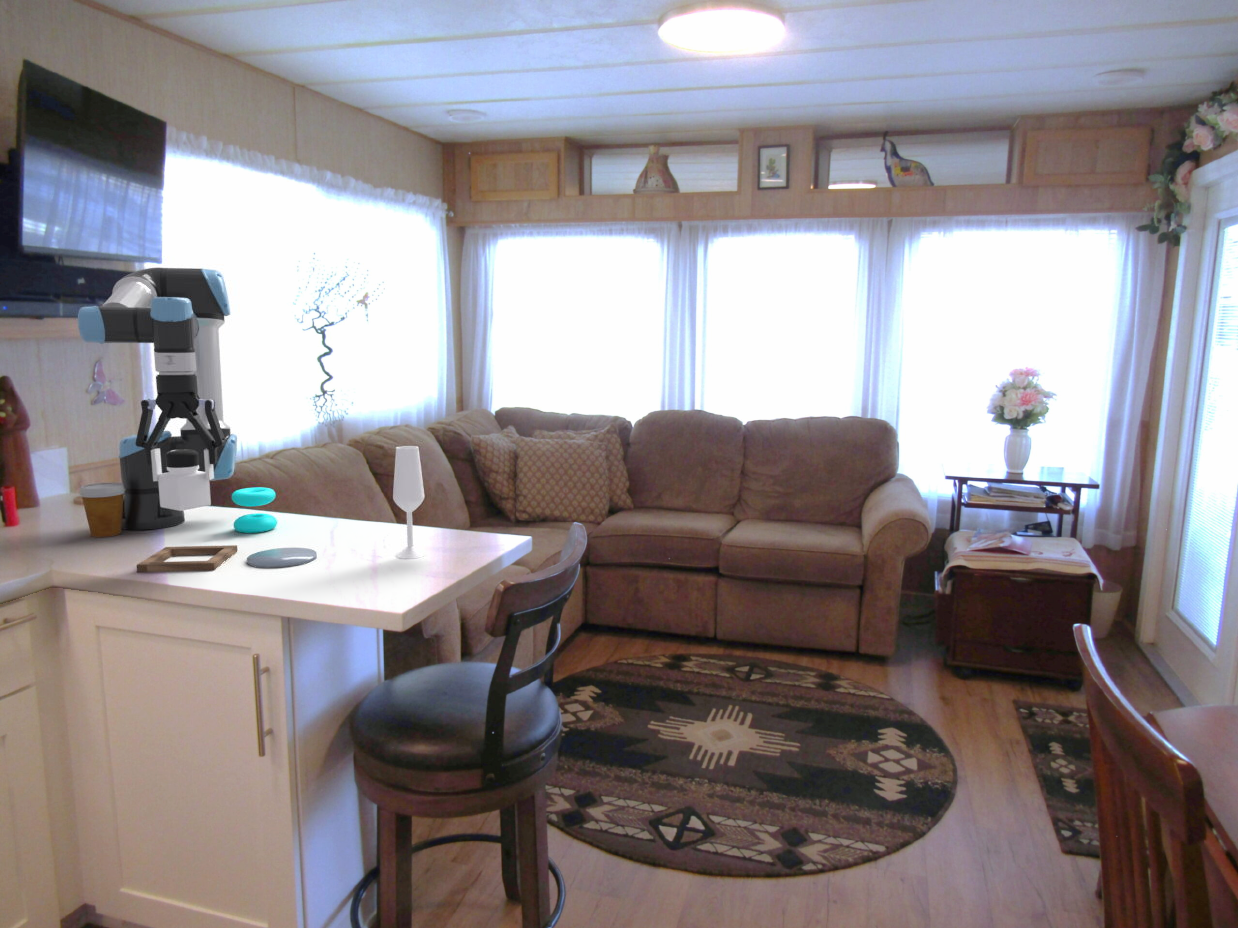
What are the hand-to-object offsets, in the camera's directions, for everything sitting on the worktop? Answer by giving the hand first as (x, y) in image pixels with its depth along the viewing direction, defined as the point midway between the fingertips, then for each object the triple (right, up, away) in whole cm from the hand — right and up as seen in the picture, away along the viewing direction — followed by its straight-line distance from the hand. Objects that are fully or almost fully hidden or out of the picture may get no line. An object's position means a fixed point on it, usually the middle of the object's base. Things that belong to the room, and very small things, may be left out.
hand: (183, 479), depth 177 cm
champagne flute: (+45, -17, +9) cm, 49 cm away
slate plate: (+19, -17, +5) cm, 26 cm away
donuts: (+1, -13, +33) cm, 35 cm away
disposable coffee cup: (-32, -14, +26) cm, 44 cm away
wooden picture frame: (0, -17, +2) cm, 18 cm away
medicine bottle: (0, -6, +1) cm, 6 cm away
